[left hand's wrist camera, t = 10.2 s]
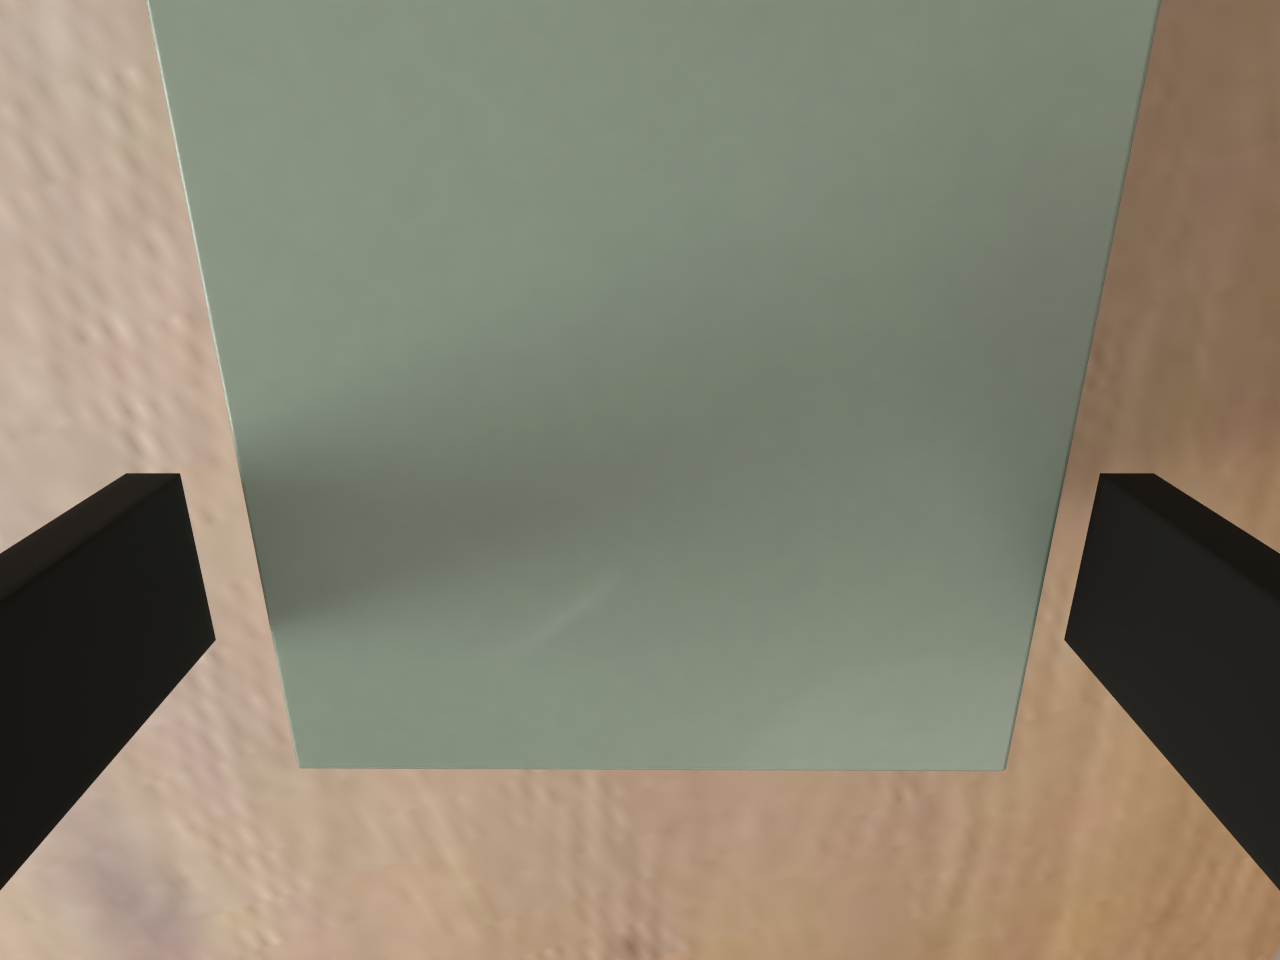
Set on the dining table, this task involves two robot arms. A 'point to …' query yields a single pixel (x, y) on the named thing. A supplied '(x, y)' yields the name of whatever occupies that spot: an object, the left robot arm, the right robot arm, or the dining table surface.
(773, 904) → the dining table surface
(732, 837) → the dining table surface
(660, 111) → the cabinet
